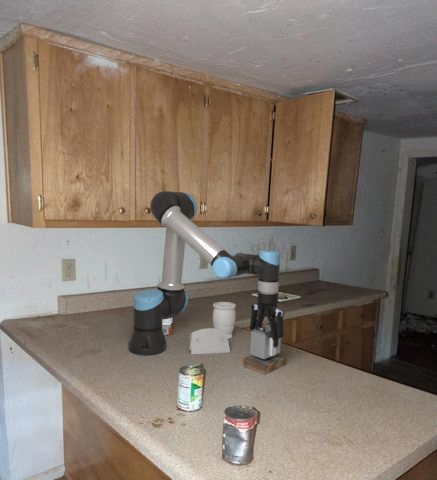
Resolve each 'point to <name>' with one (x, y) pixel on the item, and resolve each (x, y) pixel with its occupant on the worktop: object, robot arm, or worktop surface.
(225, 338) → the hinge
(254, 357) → the stand
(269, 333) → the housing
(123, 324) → the worktop surface
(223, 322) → the jar
